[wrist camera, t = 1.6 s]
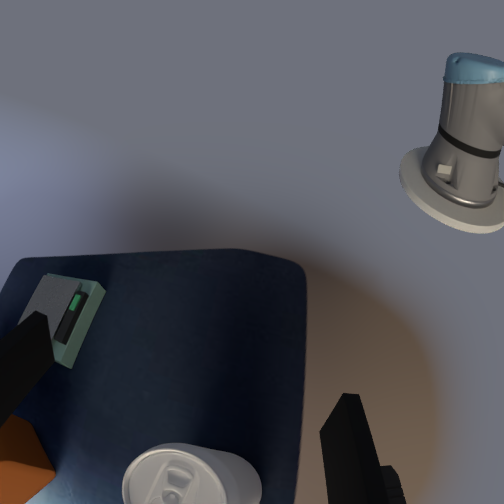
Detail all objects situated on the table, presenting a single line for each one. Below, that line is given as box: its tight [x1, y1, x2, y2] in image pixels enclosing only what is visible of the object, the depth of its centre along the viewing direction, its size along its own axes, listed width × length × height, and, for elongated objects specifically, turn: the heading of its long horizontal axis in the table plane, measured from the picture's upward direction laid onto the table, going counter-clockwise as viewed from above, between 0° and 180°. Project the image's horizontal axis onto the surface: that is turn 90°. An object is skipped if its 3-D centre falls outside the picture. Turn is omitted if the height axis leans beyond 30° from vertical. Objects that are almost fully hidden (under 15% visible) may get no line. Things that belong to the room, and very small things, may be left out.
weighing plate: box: [18, 275, 82, 346], centre depth 36 cm, size 10×11×1 cm
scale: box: [47, 273, 106, 369], centre depth 37 cm, size 13×13×4 cm
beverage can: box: [122, 443, 262, 504], centre depth 17 cm, size 8×8×12 cm
